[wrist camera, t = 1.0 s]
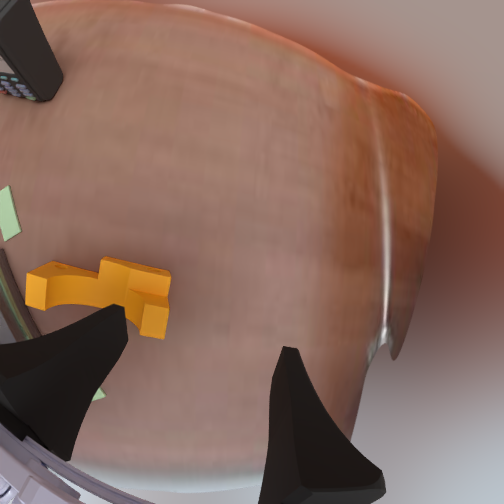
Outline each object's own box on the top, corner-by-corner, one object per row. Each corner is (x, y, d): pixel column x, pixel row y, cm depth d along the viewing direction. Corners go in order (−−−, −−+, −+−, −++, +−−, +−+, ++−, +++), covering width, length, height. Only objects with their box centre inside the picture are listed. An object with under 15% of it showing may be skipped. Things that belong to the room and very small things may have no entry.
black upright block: (-3, 95, 15) (-65, 38, 1) (14, 65, 15) (-34, -3, 1) (49, 108, 19) (-12, 31, 5) (68, 76, 19) (28, -14, 5)
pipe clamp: (169, 270, 26) (174, 286, 20) (160, 312, 26) (164, 339, 20) (55, 242, 21) (29, 250, 15) (50, 285, 21) (25, 304, 15)
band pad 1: (6, 241, 19) (4, 241, 18) (-6, 196, 18) (-8, 196, 17) (22, 231, 19) (20, 231, 19) (10, 185, 18) (8, 185, 18)
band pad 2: (90, 400, 23) (89, 402, 23) (65, 365, 22) (65, 367, 22) (106, 394, 24) (105, 396, 24) (81, 359, 23) (81, 361, 23)
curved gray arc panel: (43, 374, 21) (30, 398, 17) (-14, 259, 18) (-38, 267, 13) (62, 367, 22) (50, 391, 17) (4, 247, 19) (-20, 253, 14)
